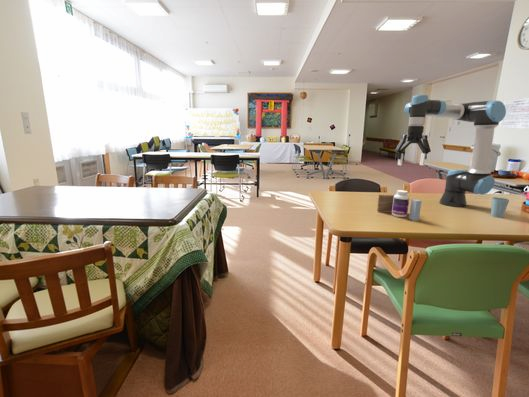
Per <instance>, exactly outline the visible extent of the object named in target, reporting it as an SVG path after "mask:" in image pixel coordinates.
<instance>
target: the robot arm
mask: <svg viewBox="0 0 529 397" xmlns="http://www.w3.org/2000/svg"><path fill="white" fill-rule="evenodd" d="M403 111H404V114H405V115H406V116H409V120H408V125H409V126H407V134H402V136H401V139H400V140H399V142H398V144H397V145H396V148H395V149H394V153H397V155H396V156H397V157H396V159H397V166H402V165H403V158H404V153H403V152H405V150H407V148H408V147H409V146H410V145H411V144H417V145H418V147H419V149H420V150H421V154H420V158H419V166H423V167H424V166H425V161H426V159H427V154H429V153H431V148H430V143H429V140H428V138H429V137H428V134H423V133H424V130H425V127H424V125H425V123H426V118H427V117H432V118H433V117H435V118H446V119H447V118H448V119H449V118H450V119H452V120H453V121H462V122H467V123H473V127H475V129H476V130H475V134H474V135H475V137H474V144H473V149H472V150H473V152H472V157H471V158H472V159H471V165H470V168H469V169H450V170H448V172H447V175H446V179H445V186H444V191H443V193H442V196H441V197H440V198H439V204H442V205H445V206H448V207H454V208H455V207H456V208H464V207H467V203H468V202H467V199H466V192H468V193H473V194H476V195H486V194H488V193H490V191H492V189H493V188H494V186H495V183H496V182H495V178H494V177H493V176H492V175H491V174H492V172H491V170H489V167H490V160H491V155H492V154H491V153H492V147H493V142H494V134H495V128H496V127H498V126H499V124H500V122H502V121H503V120H504V118H505V117H506V115H507V114H506V113H507V108H506V106H505V104H504V103H503V102H502V101H500V100H485V101H484V100H483V101H471V102H466V103H465V102H464V103H455V104H447V103H446V101H445V100H441V99H429V96H428V95H427V94H415V95H413V96H412V98H411V102H407V103H406V104H405V106H404V109H403Z"/></svg>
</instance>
